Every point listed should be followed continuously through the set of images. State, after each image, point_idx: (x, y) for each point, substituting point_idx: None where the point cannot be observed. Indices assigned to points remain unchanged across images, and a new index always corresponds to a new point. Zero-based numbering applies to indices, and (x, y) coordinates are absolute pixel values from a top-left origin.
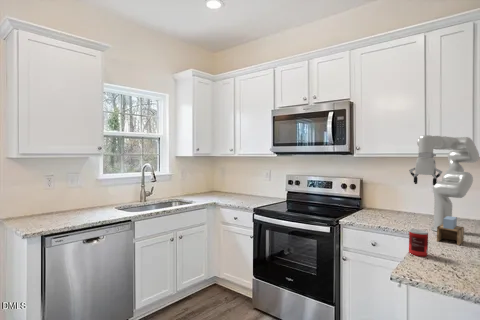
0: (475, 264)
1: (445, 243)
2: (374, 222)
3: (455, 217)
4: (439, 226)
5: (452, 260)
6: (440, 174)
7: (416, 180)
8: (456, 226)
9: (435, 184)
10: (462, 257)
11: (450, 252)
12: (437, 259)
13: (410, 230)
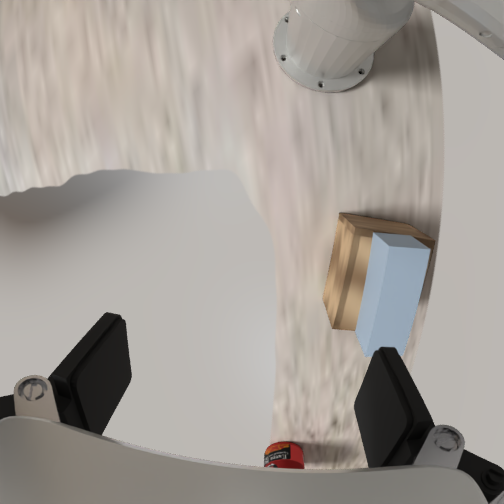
0: None
1: None
2: (45, 113)
3: (423, 266)
4: (341, 312)
5: (349, 445)
6: (494, 500)
7: (109, 391)
8: None
9: (394, 350)
10: None
11: (354, 399)
12: (322, 456)
13: None
